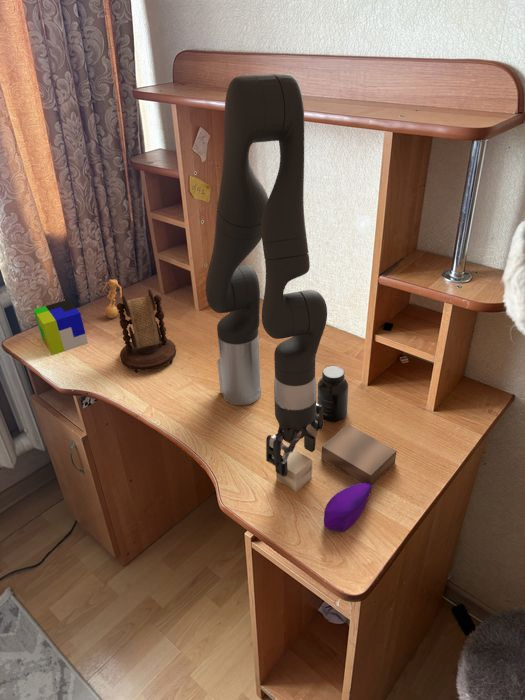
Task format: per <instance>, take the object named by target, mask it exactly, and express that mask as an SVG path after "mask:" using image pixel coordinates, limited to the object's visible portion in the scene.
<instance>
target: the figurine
mask: <svg viewBox="0 0 525 700" xmlns="http://www.w3.org/2000/svg"><path fill="white" fill-rule="evenodd" d="M108 285H109V288H110V289H109V291H108V294H107V296H106V298H107V299H108V300H109V301H110V303H109V304H108V305H107V306H106V307H105V310H104V313H105V316H106V317H107V318H109V319H115V318H116V317H117V316H118V315H119V313H118V311H119V310H117V305H115V304H116V300H117V299H115V298H116V295H117V293H118V292H117V291H116V289H117V287H118V289H119V296H118V297H119V298H120V299H122V296H123V294H122V291H123V290H122V289H123V288H122V286H121V285H120V284H119V283H118V280H117V279H109V280H108V282H106V284H105V285H104V286H103V289H102V291H104V290H105V289H106V288H107V287H108ZM112 303H113V304H112Z"/></svg>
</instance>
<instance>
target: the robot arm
mask: <svg viewBox="0 0 525 700" xmlns="http://www.w3.org/2000/svg"><path fill="white" fill-rule="evenodd" d="M224 102H225V103H224V117H223V119H224V121H223V122H224V124H223V152H222V153H223V154H222V155H223V156H222V157H223V158H222V169H221V170H222V171H221V179H220V186H219V193H218V200H217V206H216V217H215V228H214V240H213V246H212V247H213V248H212V253H211V258H210V261H209V266H208V269H207V273H206V279H205V294H206V300H207V303H208V306H209V307H210V309H211V310H212V311H214V312H215V313H217V314H226V315H225V316H223V317H222V318H221V319H219V321H218V323H217V326H216V330H217V331H216V332H217V341H218V351H219V358H218V359H217V370H218V381H219V382H218V383H219V391H220V393H221V394H222V395H223V396H222V397H223V399H224V400H225V402H227V403H229V404H231V405H234V406H247V405H250V404H253V403H255V402H257V401H258V400H259V399H260V397H261V395H262V388H261V386H262V385H261V363H260V362H261V361H260V359H261V358H260V341H259V340H260V338H259V327H260V324H262V326H263V329H264V331H265V332H266V334H267V335H268V336H269V337H271V338H272V339H274V340H282V339H286V340H284V341H282V342H280V343H279V344H278V345H277V346H276V347H275V349H274V353H273V358H274V381H273V396H274V399H273V400H274V417H275V419H276V420H277V423H278V429H277V433H276V434H274V435H271V434H268V435H267V436H266V438H265V442H266V443H265V444H266V446H265V447H266V448H265V449H266V450H265V454H266V455H265V461H266V462H268V463H269V464H272V465H273V466H274V467H275V470H274V472H275V474H276V473H278V474H279V475H281V476H283V477H285V476H286V475H287V474H288V469H287V459H288V456H289V454H290V453H292V452H293V450H294V449H295V448H296V445H297V443H299V441H300V440H302V439H303V448H304V449H305V450H306V451H308V452H309V453H314V452H315V451H316V446H317V444H316V443H317V441H316V440H317V439H316V438H317V436H318V434H319V432H318V431H319V430H320V431H322V430H323V428H324V420H323V406H321V405H319V404H317V379H316V357H317V353H318V348H319V346H320V343H321V340H322V337H323V335H324V331H325V329H326V325H327V320H328V306H327V303H326V300H325V298H324V297H323V295H322V294H321V293H320V292H318V291H317V290H315V289H306V290H300V291H295V292H290V293H284V292H285V289H286V286H287V285H288V283H289V282H290V281H292V280H295V279H297V278H301V277H302V276H304V275H306V274H307V273H308V272H309V271H310V267H311V265H310V256H309V255H310V254H309V246H308V237H307V230H306V222H305V221H306V220H305V208H304V207H305V205H304V191H305V190H304V188H305V187H304V186H305V184H304V183H305V107H304V98H303V93H302V90H301V86H300V84H299V82H298V80H297V79H296V78H295V76H293V75H292V74H288V73H270V74H269V73H268V74H267V73H266V74H265V73H264V74H247V75H238V76H235V77H234V78H232V80H230V82H229V84H228V88H227V89H226V95H225V101H224ZM276 141H277V142H278V144H279V145H278V146H279V165H278V166H279V167H278V172H277V175H276V179H275V182H274V185H273V187H272V189H271V192H270V195H269V196H268V194H267V191H266V189H265V187H264V185H263V184H262V182H261V181H260V179H259V177H258V176H257V174H256V173H255V171H254V169H253V167H252V165H251V162H250V160H249V159H250V158H249V155H250V148H251V146H252V145H253V144H254V143H266V142H276ZM260 241H261V243H262V248H263V250H262V251H263V255H264V256H263V257H264V258H263V259H264V264H265V285H264V286H265V287H264V292H263V293H264V294H263V301H262V305H260V303H261V289H260V288H261V287H260V281H259V278H258V275H257V272H256V271H255V269H254V267H252V266H251V265H250V264H245V263H244V264H242V262H244V260H245V259H247V257H248V256H249V255H250V254H251V253H252V252H253V251H254V249H255V248H256V247H257V246H258V244H259V243H260ZM261 306H262V307H261ZM260 307H261V310H260ZM260 311H261V315H260ZM260 316H261V323H260ZM283 442H286V443H287V444H289V446H287V445H286V444H284V443H283ZM281 451H283V455H282V454H281V453H282V452H281Z"/></svg>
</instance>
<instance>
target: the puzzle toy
mask: <svg viewBox="0 0 525 700" xmlns="http://www.w3.org/2000/svg"><path fill="white" fill-rule="evenodd" d="M33 313H34V316H35V319H36V323H37V326H38V330H39V332H40V336H41V338H42V341H43V344H45V346H46V347H47V349H48V351H49V352H50V353H51V355H52V356H55V355H57V354H61V353H63V352H67V351H69V350H72V349H75V348H79V347H81V346H82V347H83V346H85V345H88V343H89V342H88V338H87V333H86V331H85V326H84V322H83V318H82V314H81V312H80V310H79V309H78V308H77V307H76V306H75V305H74V303H72V301H71V300H70V299H69V298H68V299H65V300H62V301H61V300H60V301H58V302H55V303H52V304H48V305H45V306H41V307H38V308H34V309H33Z"/></svg>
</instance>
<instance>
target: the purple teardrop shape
mask: <svg viewBox="0 0 525 700" xmlns="http://www.w3.org/2000/svg"><path fill="white" fill-rule="evenodd" d="M372 489H373V486H372V484H371V483H360V482H359V483H357V484H356V483H355V484H353V485H350V486H347V487H346V488H344V489H342V490H341V491H338V492H337V493H336V494H334V495H333V496H332V497H331V498H330V499H329V501H328V502H327V504H325V508H324V512H323V525H324V527H325V528H326V529H328V530H329V531H337V532H346V531H348V530H349V529H350V528H351V527H353V525H354V524H355V523H356V522H357V521H358V519H359V518H360V516H361V515H362V513H363V511H364V509H365V507H366V505H367V502H368V500H369V498H370V495H371V491H372Z"/></svg>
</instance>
